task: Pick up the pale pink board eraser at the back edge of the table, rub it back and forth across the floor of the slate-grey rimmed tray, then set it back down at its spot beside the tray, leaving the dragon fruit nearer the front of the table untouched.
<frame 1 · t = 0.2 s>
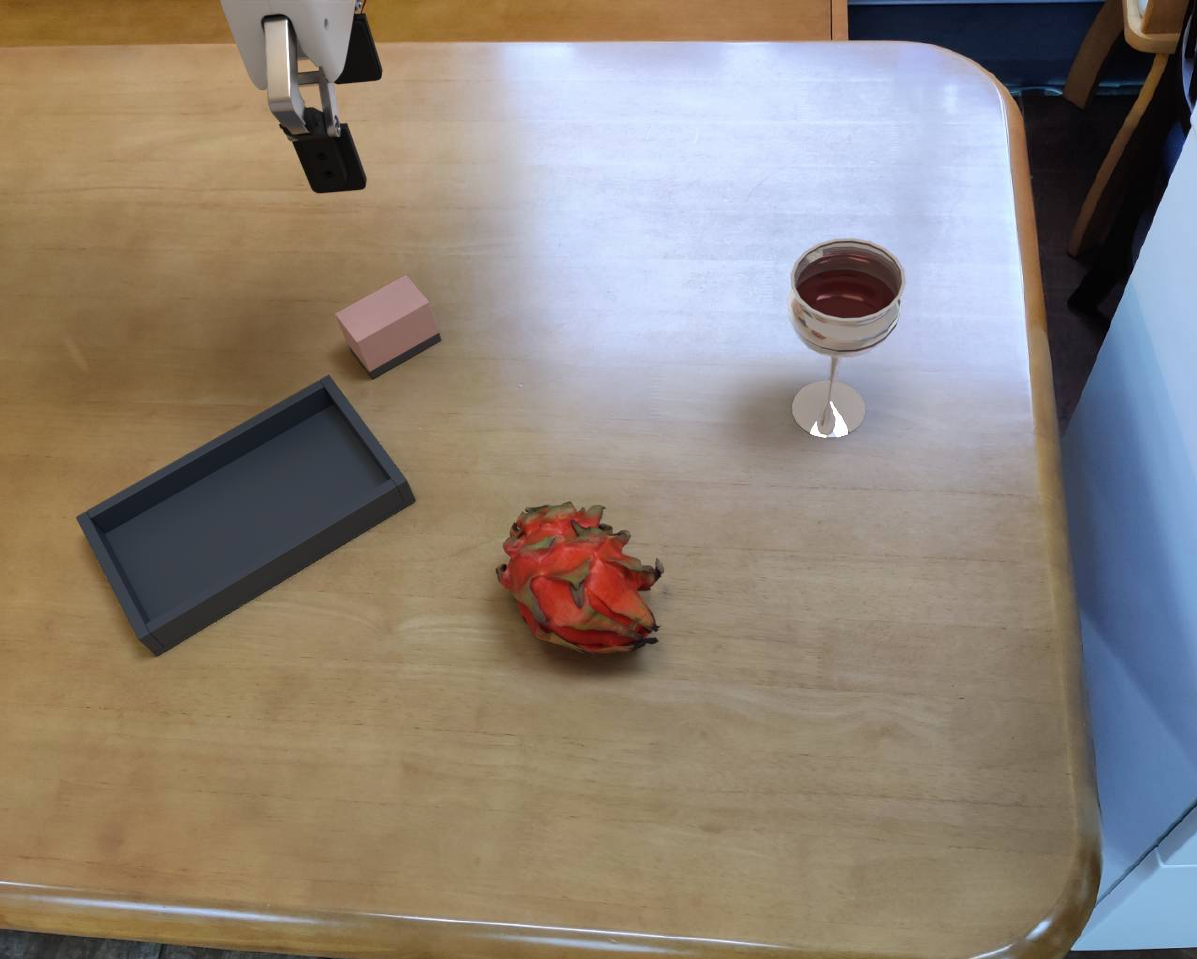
hand: (350, 132, 63), 18 cm above the table, tool pointing down, fingers open, 9 cm apart
wineglass: (828, 410, 73), on the table
eraser: (396, 345, 79), on the table
tray: (253, 518, 73), on the table
dragon fruit: (589, 612, 67), on the table
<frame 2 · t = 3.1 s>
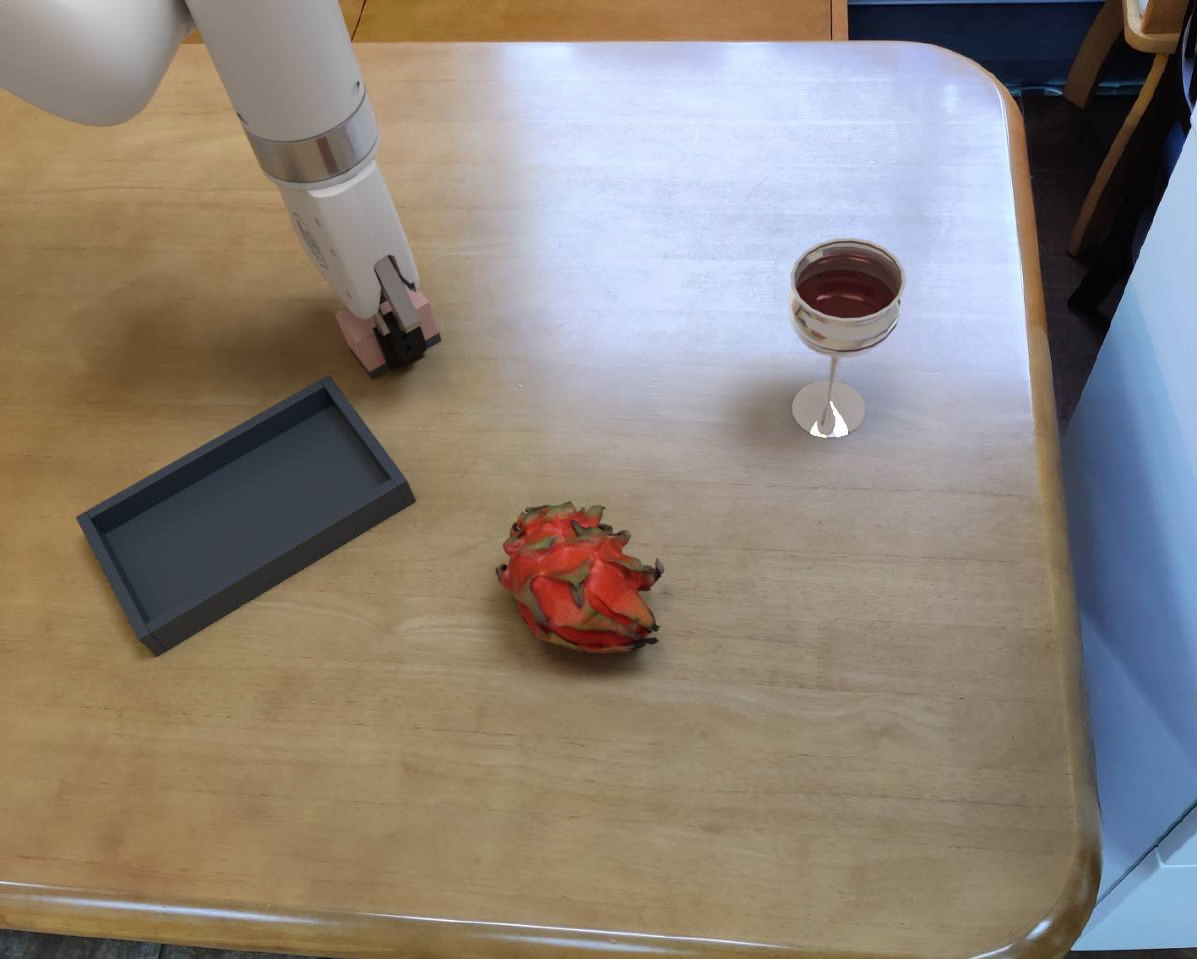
hand: (393, 338, 78), 1 cm above the table, tool pointing down, fingers closed on eraser, 3 cm apart
eraser: (396, 345, 79), on the table, touching gripper
everything else where it was.
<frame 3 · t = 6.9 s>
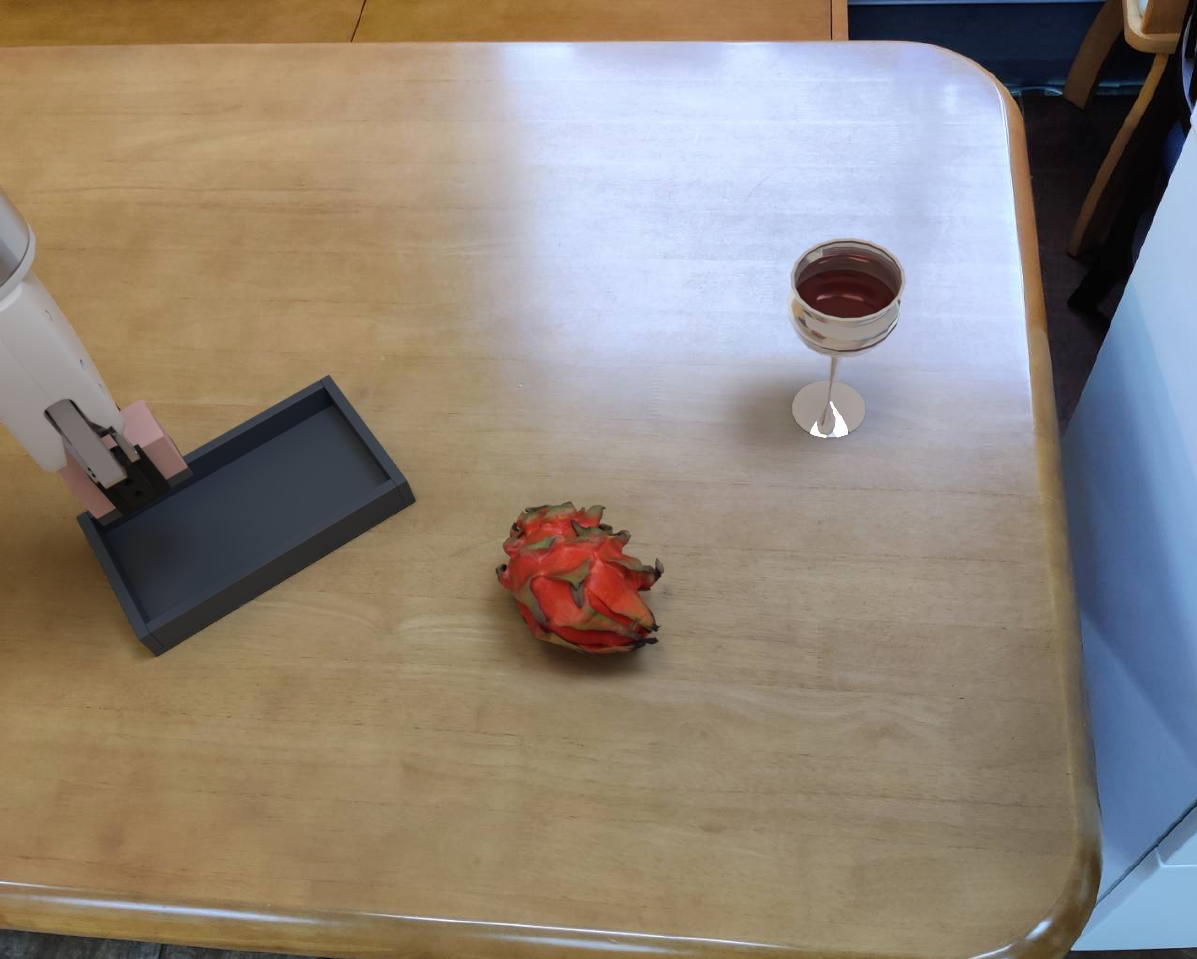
hand: (132, 475, 64), 9 cm above the table, tool pointing down, fingers closed on eraser, 3 cm apart
eraser: (138, 482, 64), point 8 cm above the table, touching gripper
everything else where it was.
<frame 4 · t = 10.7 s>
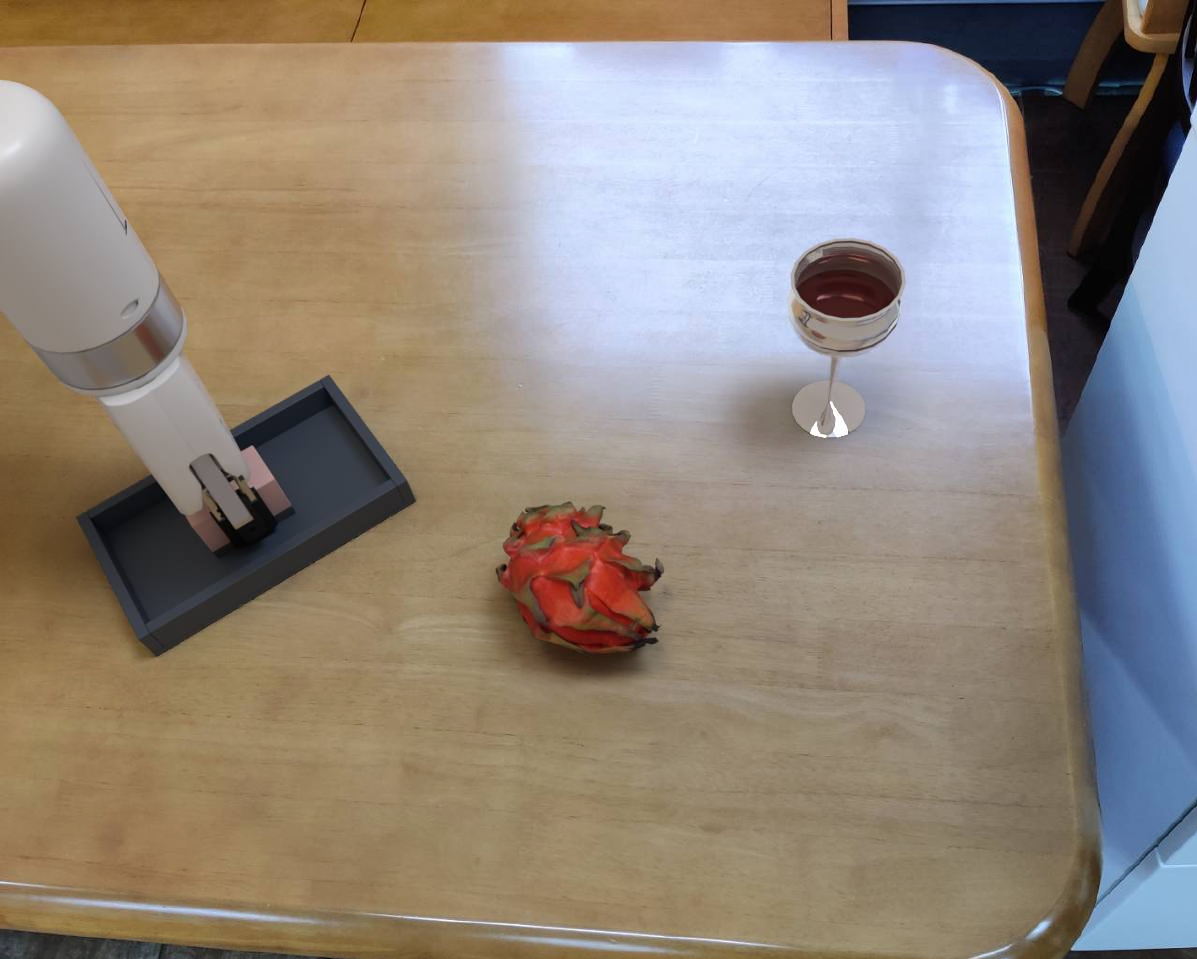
hand: (242, 512, 71), 1 cm above the table, tool pointing down, fingers closed on eraser, 3 cm apart
eraser: (246, 518, 72), point 1 cm above the table, touching gripper
everything else where it was.
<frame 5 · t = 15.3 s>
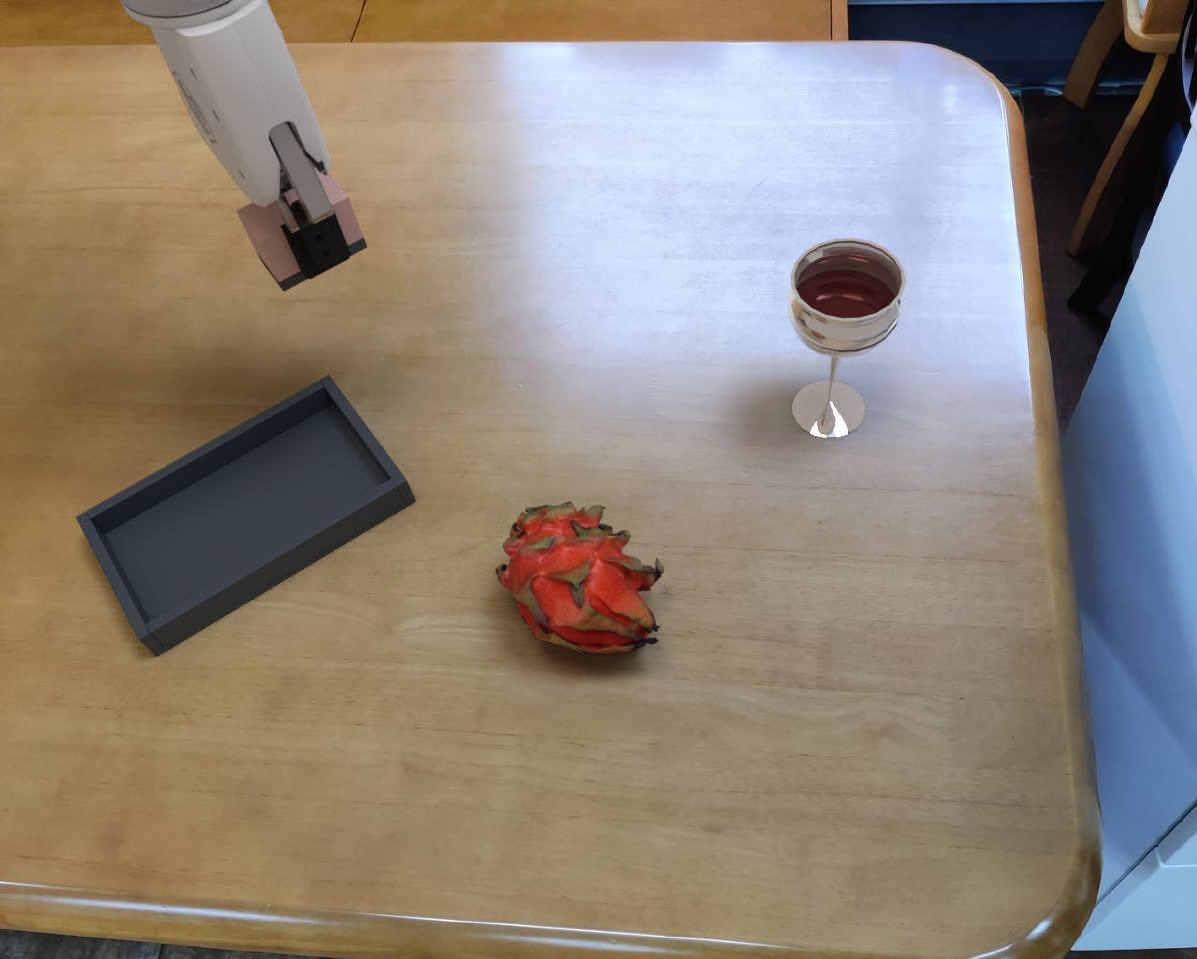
hand: (312, 245, 66), 13 cm above the table, tool pointing down, fingers closed on eraser, 3 cm apart
eraser: (314, 254, 67), point 12 cm above the table, touching gripper
everything else where it was.
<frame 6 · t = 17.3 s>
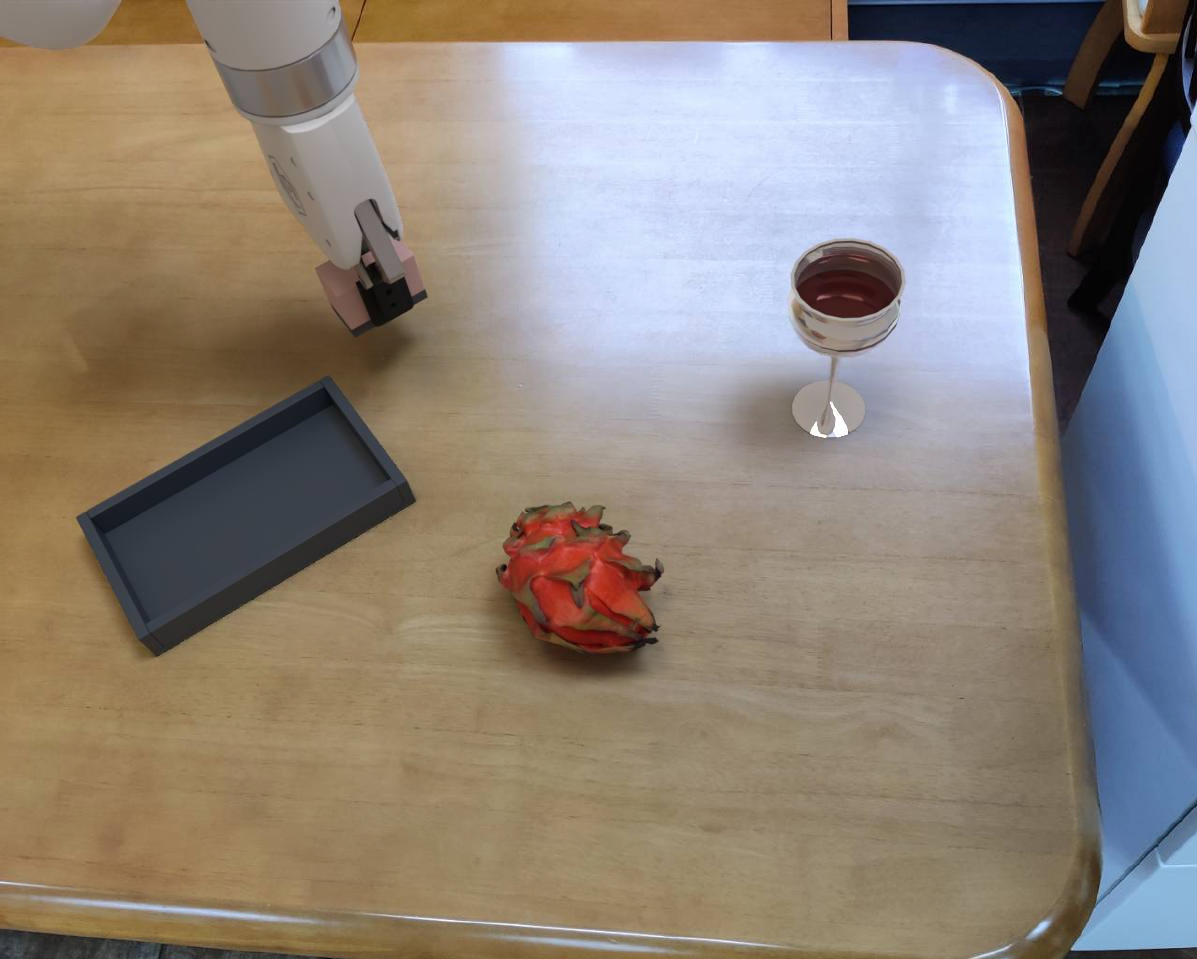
hand: (378, 296, 74), 5 cm above the table, tool pointing down, fingers closed on eraser, 3 cm apart
eraser: (380, 303, 75), point 4 cm above the table, touching gripper
everything else where it was.
when the fingers open (1 cm above the table, at t = 18.7 s): eraser stays where it is, on the table.
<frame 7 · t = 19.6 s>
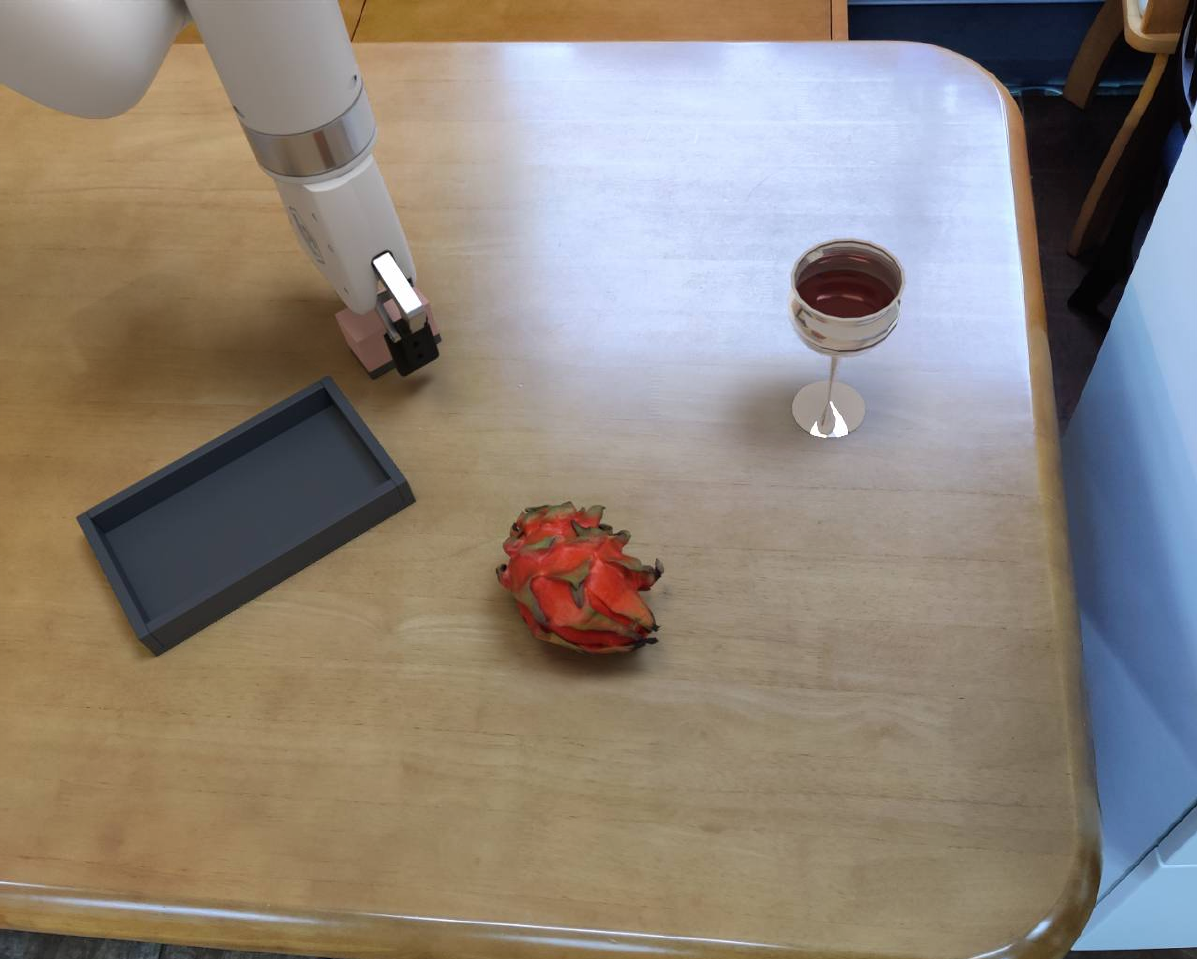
hand: (386, 324, 77), 2 cm above the table, tool pointing down, fingers open, 9 cm apart
eraser: (396, 346, 79), on the table
everything else where it was.
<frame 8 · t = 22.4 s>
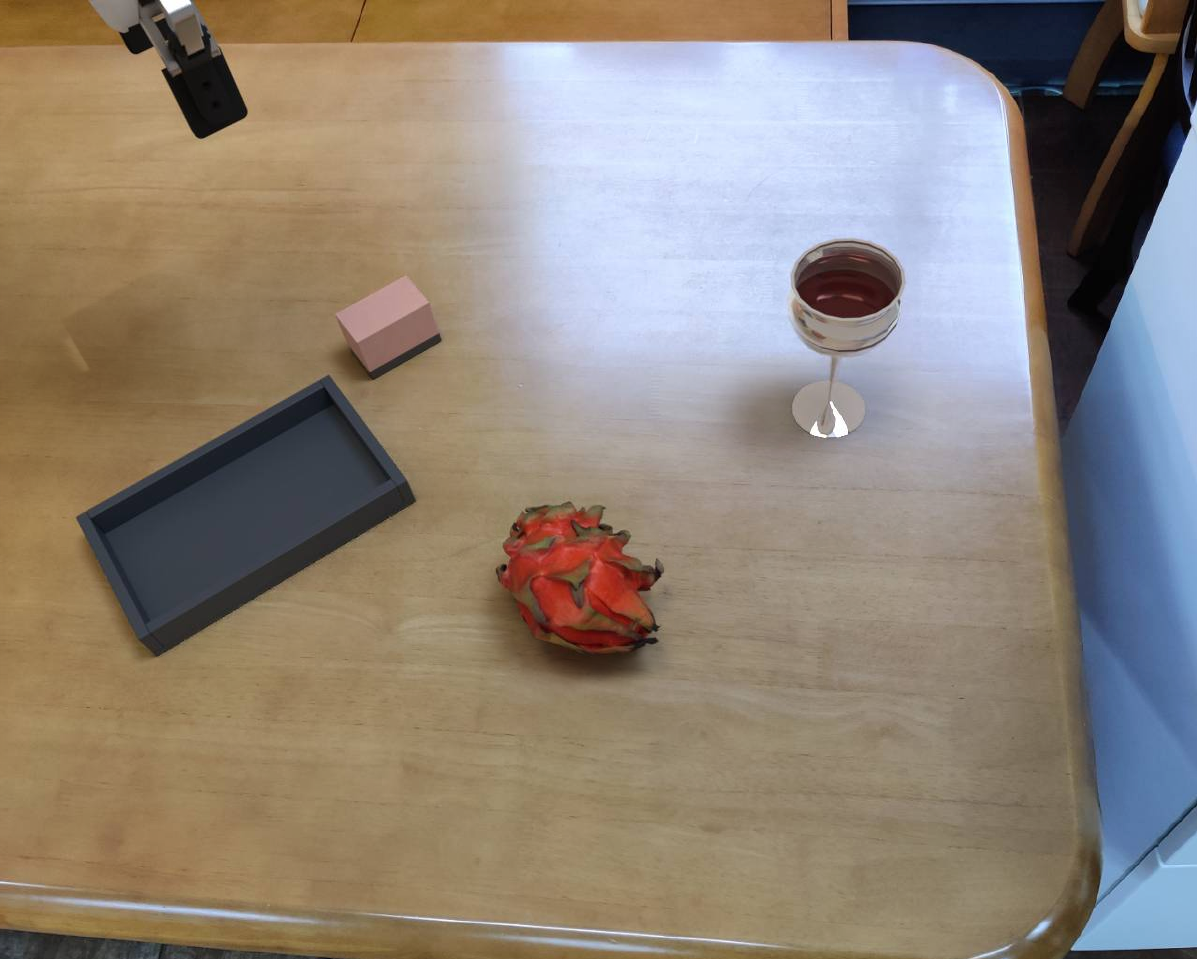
hand: (187, 82, 60), 22 cm above the table, tool pointing down, fingers open, 9 cm apart
nothing on the table moved.
at the end: eraser inside the target area on the table beside the tray (0.0 cm from its centre), on the table; eraser tilted 0°; dragon fruit moved 0.2 cm from its start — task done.
